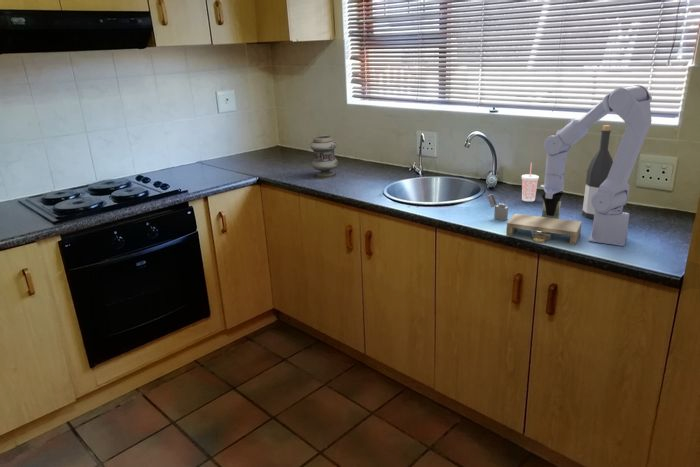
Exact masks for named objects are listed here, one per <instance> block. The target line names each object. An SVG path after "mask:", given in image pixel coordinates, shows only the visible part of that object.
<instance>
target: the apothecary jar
mask: <svg viewBox="0 0 700 467" xmlns="http://www.w3.org/2000/svg"><path fill="white" fill-rule="evenodd" d="M336 147H337V142H336V141H335V140H334V139H333V136H332V135H327V134H325V135H324V134H322V135H317V136H313V141H312V142H311V144H310V148H311V150H312V151H313V160H312V161H311V166H312V167H313V169H314V170H317V171H318V172H317V173H315V174H314V177H315V178H318V179H319V178H320V179H330V178H334V177H336V176H337V173H336V172H333V171H332V170H333V169H335V168H337V167H338V165H339V161H338V160H337V158H336V156H335V149H336Z"/></svg>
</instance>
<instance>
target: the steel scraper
mask: <svg viewBox="0 0 700 467" xmlns="http://www.w3.org/2000/svg"><path fill="white" fill-rule="evenodd" d="M561 204H562V200H561V199H560V200H559V201H558V203H557V206H556V210H555V213H554V216H549V215H547V214H546V207H545V203H544V200H543V204H542V215H541V217H548V218H556V219H560V215H561V214H560V213H561ZM535 235H541V236H545V237H546V240H551V238H552V233H551V232H543V231H535V230H531V238H532V237H533V236H535Z"/></svg>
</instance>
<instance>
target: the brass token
mask: <svg viewBox="0 0 700 467" xmlns="http://www.w3.org/2000/svg"><path fill="white" fill-rule="evenodd" d="M531 241H533V242H534V243H539V244H544V243H546V242H547V239H546V237H545V236H541V235H535V236H533V237H531ZM543 242H544V243H543Z"/></svg>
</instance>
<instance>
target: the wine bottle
mask: <svg viewBox="0 0 700 467" xmlns="http://www.w3.org/2000/svg"><path fill="white" fill-rule="evenodd" d="M611 131H612V130H611V125H609V124H603V126H602V129H601V131H600V132H601V134H600V142H599V149H598V151H597V153H596V154H595V155H594V156H593V158H592V159H591V161H590V163H589V165H588V166H587V167H588V168H587V170H586V179H585V180H586V181H585V188H584V197H583V204H582V211H581V212H582V216H584V217H585V218H589V219H593V220H594V213H595V211H594V210H595V209H594V208H593V206H592V204H591V199H592V196H593V195H594V194H595V193H596V192H597V191H598V189H599V186H600V185H601V184H602V183H603V182H604V181H605V180H606V179H607V177H608V174H609V171H610V169H611V166H612V164H613V161H614V159H613V158H612V156H611V153H610V151H609V144H610V138H611V137H610V136H611Z"/></svg>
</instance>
